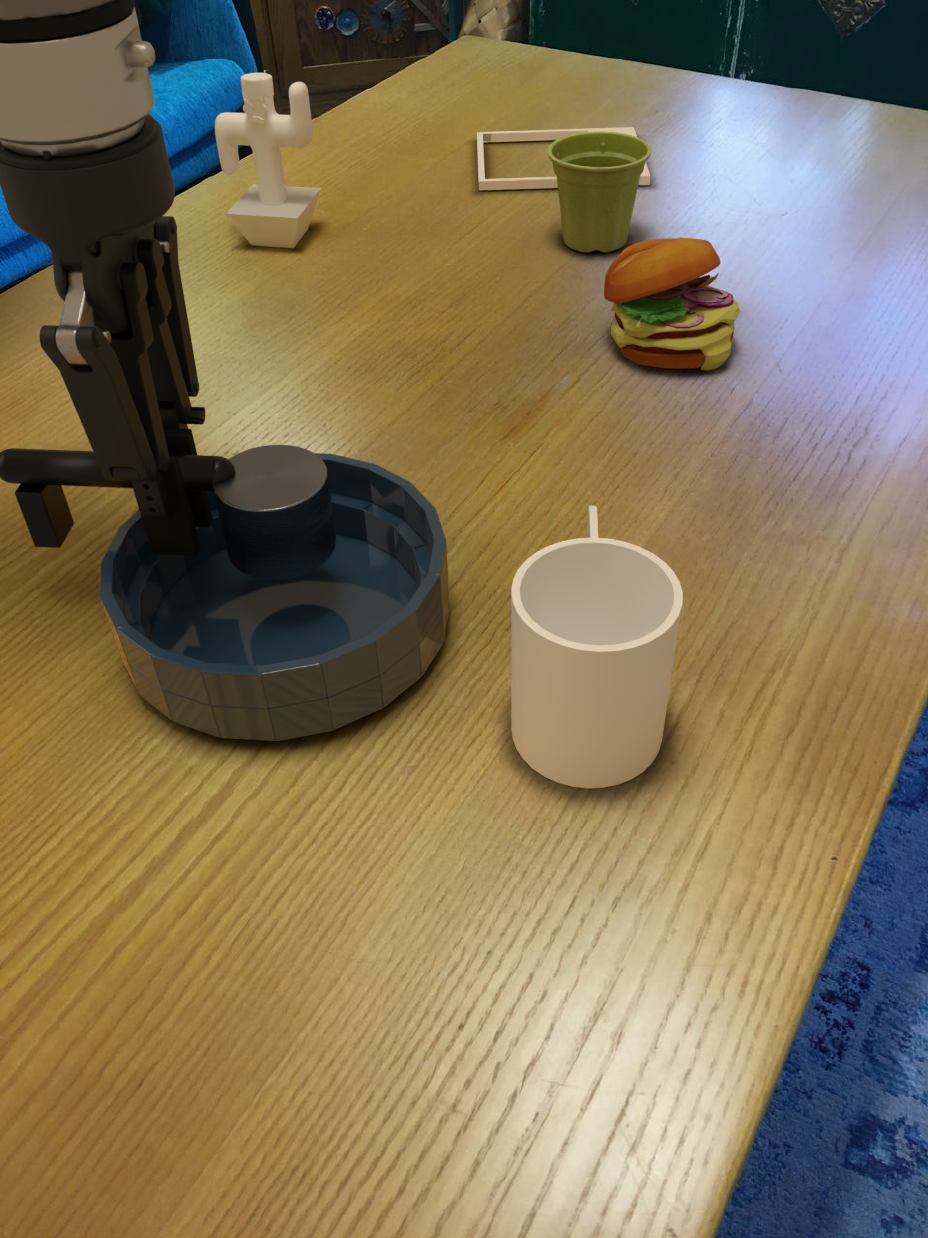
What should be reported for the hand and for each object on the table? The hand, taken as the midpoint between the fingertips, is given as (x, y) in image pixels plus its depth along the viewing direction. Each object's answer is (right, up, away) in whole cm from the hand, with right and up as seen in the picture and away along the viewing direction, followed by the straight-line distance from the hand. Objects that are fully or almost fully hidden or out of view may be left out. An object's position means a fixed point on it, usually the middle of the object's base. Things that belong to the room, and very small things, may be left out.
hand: (183, 535), depth 63 cm
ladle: (0, 0, 0) cm, 1 cm away
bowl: (+6, -5, +1) cm, 8 cm away
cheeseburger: (+33, +17, +24) cm, 45 cm away
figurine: (-2, +33, +42) cm, 54 cm away
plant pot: (+29, +31, +39) cm, 58 cm away
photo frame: (+27, +45, +54) cm, 76 cm away
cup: (+24, -10, -4) cm, 26 cm away
